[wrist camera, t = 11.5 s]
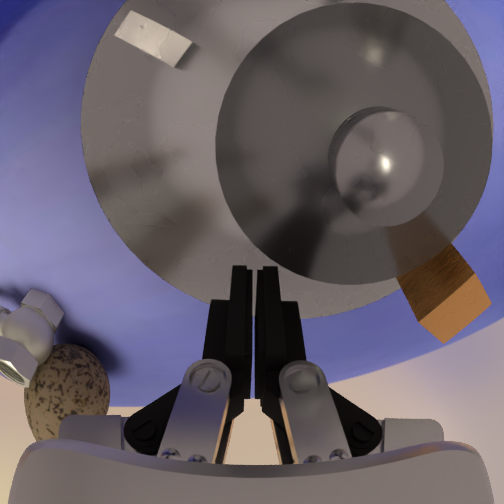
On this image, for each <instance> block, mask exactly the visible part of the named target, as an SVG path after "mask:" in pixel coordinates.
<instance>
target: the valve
mask: <svg viewBox="0 0 504 504" xmlns="http://www.w3.org/2000/svg"><path fill="white" fill-rule="evenodd" d="M63 315H64V311H63V310H62V309H61V308H60V307H59V305H58V304H57V303H56V302H55V301H54V299H53V298H52V297H51V296H50V295H49V294H48V293H44V292H41V291H37V290H34V289H30V290H29V292H28V293H27V295H26V296H25V298H24V299H23V300H22V302H21V307H20V308H18V309H16V310H14V311H13V312H12V313H11V311H10V310H9V309H7V308H5V307H2V306H0V372H1V373H2V374H3V375H4V376H6V377H7V378H8V379H10V380H11V381H13V382H14V383H16V384H18V385H20V386H23V387H27V388H29V387H30V385H31V382H32V380H33V378H34V376H35V373H36V371H37V367H38V366H39V365H41V364H42V363H44V362H45V361H46V360H47V358H48V357H49V355H50V354H51V351H52V348H53V344H54V334H55V332H56V330H57V328H58V327H59V325H60V322H61V320H62V317H63Z"/></svg>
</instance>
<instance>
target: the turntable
mask: <svg viewBox="0 0 504 504" xmlns="http://www.w3.org/2000/svg"><path fill="white" fill-rule="evenodd" d="M338 3H370V4H376V5H382V6H387V7H390V8H393V9H397V10H400V11H403V12H405V13H408V14H410V15H412V16H414V17H416V18H418V19H420V20H422V21H424V22H425V23H427V24H428V25H430V26H431V27H432V28H434V29H435V30H437V31H438V32H439V33H441V34H442V35H443V36H444V37H445V38H446V39H447V40H448V41H449V42H451V43H452V44H453V45H454V47H455V48H456V49H457V50H458V51H459V52H460V54H461V55H462V56H463V57H464V58H465V60H466V61H467V63H468V64H469V66H470V68H471V69H472V71H473V72H474V74H475V76H476V78H477V80H478V82H479V84H480V86H481V89H482V91H483V94H484V97H485V100H486V103H487V106H488V110H489V115H490V121H491V128H492V143H493V112H492V102H491V96H490V91H489V86H488V82H487V78H486V74H485V71H484V68H483V65H482V63H481V60H480V57H479V55H478V52H477V50H476V48H475V46H474V44H473V42H472V40H471V38H470V36H469V34H468V33H467V31H466V29H465V27H464V26H463V24H462V23H461V21H460V20H459V19H458V17H457V16H456V14H455V13H454V12H453V10H452V9H451V8H450V6H449V5H448V4H447V3H446V2H445V0H127V1H126V2H125V3H124V4H123V5H122V7H121V8H120V9H119V11H118V12H117V13H116V14H115V16H114V17H113V19H112V20H111V22H110V24H109V25H108V27H107V29H106V31H105V32H104V34H103V36H102V38H101V40H100V42H99V44H98V46H97V48H96V51H95V53H94V56H93V59H92V62H91V64H90V67H89V70H88V73H87V78H86V83H85V88H84V93H83V98H82V110H81V136H82V145H83V154H84V159H85V163H86V167H87V171H88V175H89V179H90V182H91V185H92V187H93V190H94V192H95V195H96V197H97V199H98V202H99V204H100V206H101V208H102V210H103V212H104V213H105V215H106V217H107V219H108V220H109V222H110V224H111V225H112V227H113V229H114V230H115V231H116V233H117V234H118V235H119V236H120V238H121V239H122V240H123V242H124V243H125V244H126V246H127V247H128V248H129V249H130V250H131V251H132V252H133V253H134V254H135V255H136V256H137V257H138V258H139V259H140V260H141V261H142V262H143V263H144V264H145V265H146V266H147V267H148V268H150V269H151V270H152V271H153V272H155V273H156V274H157V275H158V276H160V277H161V278H162V279H163V280H165V281H166V282H168V283H169V284H171V285H173V286H174V287H176V288H177V289H179V290H181V291H182V292H184V293H186V294H188V295H190V296H192V297H194V298H196V299H198V300H200V301H203V302H205V303H207V304H210V302H211V299H220V300H229V298H230V287H231V276H232V266H233V265H247V269H253V309H252V316H255V304H256V284H257V270H263V266H278V274H279V283H280V293H281V301H297V302H298V306H299V313H300V319H304V318H316V317H322V316H328V315H334V314H338V313H342V312H346V311H349V310H353V309H356V308H359V307H362V306H365V305H367V304H370V303H372V302H375V301H377V300H379V299H381V298H383V297H385V296H387V295H389V294H391V293H393V292H395V291H397V290H398V289H400V288H401V289H402V290H403V292H404V294H405V296H406V298H407V300H408V302H409V304H410V306H411V308H412V310H413V312H414V314H415V316H416V318H417V321H418V322H419V323H420V324H421V325H422V326H423V327H425V328H426V329H427V330H428V331H429V332H431V333H432V334H433V335H434V336H435V337H436V338H438V339H439V340H440V341H441V342H442V343H443V344H444V343H445V342H447V341H448V340H449V339H451V338H452V337H453V336H454V335H456V334H457V333H458V332H459V331H461V330H462V329H463V328H464V327H466V326H467V325H468V324H469V323H470V322H472V321H473V320H474V319H475V318H476V317H477V316H479V315H480V314H481V313H482V312H483V311H484V310H485V309H486V308H488V307H489V306H490V305H491V304H492V303H491V301H490V299H489V297H488V295H487V293H486V292H485V290H484V288H483V286H482V284H481V283H480V281H479V279H478V277H477V276H476V274H475V272H474V271H473V270H472V269H471V267H470V266H469V265H468V263H467V262H466V261H465V260H464V258H463V257H462V256H461V255H460V253H459V252H458V251H457V250H456V248H455V247H454V246H453V245H452V242H453V241H454V240H455V239H456V238H455V239H454V240H453V241H452V242H451V243H450V244H449V245H448V246H447V247H446V248H444V249H443V250H442V251H441V252H440V253H439V254H437V255H436V256H435V257H433V258H432V259H431V260H429V261H428V262H426V263H424V264H423V265H421V266H419V267H418V268H416V269H414V270H412V271H410V272H407V273H405V274H403V275H400V276H397V277H395V278H392V279H389V280H385V281H380V282H376V283H369V284H361V285H339V284H330V283H324V282H320V281H316V280H311V279H309V278H306V277H303V276H300V275H298V274H295V273H293V272H291V271H289V270H287V269H285V268H283V267H282V266H280V265H279V264H277V263H276V262H274V261H273V260H271V259H270V258H268V257H267V256H266V255H265V254H264V253H263V252H261V251H260V250H259V249H258V248H257V247H256V246H255V245H254V244H253V243H252V242H251V241H250V239H249V238H248V237H247V236H246V235H245V234H244V233H243V231H242V230H241V228H240V227H239V225H238V223H237V222H236V220H235V219H234V217H233V216H232V213H231V211H230V209H229V207H228V205H227V203H226V201H225V198H224V195H223V192H222V189H221V185H220V182H219V178H218V171H217V165H216V154H215V136H216V129H217V121H218V115H219V112H220V108H221V105H222V101H223V98H224V94H225V92H226V90H227V88H228V86H229V84H230V81H231V79H232V77H233V75H234V73H235V72H236V70H237V69H238V67H239V66H240V64H241V63H242V61H243V60H244V58H245V57H246V55H247V54H248V53H249V52H250V51H251V50H252V49H253V48H254V46H255V45H256V44H257V43H258V42H259V41H260V40H261V39H262V38H263V37H264V36H266V35H267V34H268V33H270V32H271V31H272V30H273V29H275V28H276V27H277V26H279V25H280V24H282V23H284V22H285V21H287V20H289V19H291V18H293V17H295V16H296V15H298V14H300V13H303V12H306V11H309V10H312V9H315V8H318V7H321V6H326V5H332V4H338ZM458 235H459V234H458ZM458 235H457V236H458ZM457 236H456V237H457Z"/></svg>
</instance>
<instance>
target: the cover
mask: <svg viewBox="0 0 504 504" xmlns="http://www.w3.org/2000/svg"><path fill="white" fill-rule="evenodd" d="M215 154H216V165H217V171H218V178H219V182H220V185H221V189H222V192H223V195H224V198H225V201H226V203H227V205H228V207H229V209H230V211H231V213H232V216H233V217H234V219H235V220H236V222H237V223H238V225H239V227H240V228H241V230H242V231H243V233H244V234H245V235H246V236H247V237H248V238H249V239H250V241H251V242H252V243H253V244H254V245H255V246H256V247H257V248H258V249H259V250H260V251H261V252H263V253H264V254H265V255H266V256H267V257H268V258H270V259H271V260H273V261H274V262H276V263H277V264H279V265H280V266H282V267H283V268H285V269H287V270H289V271H291V272H293V273H295V274H298V275H300V276H303V277H306V278H309V279H311V280H316V281H320V282H324V283H330V284H339V285H361V284H369V283H376V282H380V281H385V280H389V279H392V278H395V277H397V276H400V275H403V274H405V273H407V272H410V271H412V270H414V269H416V268H418V267H419V266H421V265H423V264H424V263H426V262H428V261H429V260H431V259H432V258H433V257H435V256H436V255H437V254H439V253H440V252H441V251H442V250H443V249H444V248H446V247H447V246H448V245H449V244H450V243H451V242H452V241H453V240H454V239H455V238H456V236H457V235H458V234H459V233H460V232H461V231H462V229H463V228H464V227H465V225H466V224H467V222H468V221H469V219H470V218H471V216H472V214H473V213H474V211H475V209H476V207H477V205H478V203H479V201H480V199H481V196H482V194H483V191H484V189H485V186H486V182H487V179H488V175H489V170H490V164H491V158H492V128H491V121H490V115H489V110H488V106H487V103H486V100H485V97H484V94H483V91H482V89H481V86H480V84H479V82H478V80H477V78H476V76H475V74H474V72H473V71H472V69H471V68H470V66H469V64H468V63H467V61H466V60H465V58H464V57H463V56H462V55H461V54H460V52H459V51H458V50H457V49H456V48H455V47H454V45H453V44H452V43H451V42H449V41H448V40H447V39H446V38H445V37H444V36H443V35H442V34H441V33H439V32H438V31H437V30H435V29H434V28H432V27H431V26H430V25H428V24H427V23H425V22H424V21H422V20H420V19H418V18H416V17H414V16H412V15H410V14H408V13H405V12H403V11H400V10H397V9H393V8H390V7H387V6H382V5H376V4H370V3H338V4H332V5H326V6H321V7H318V8H315V9H312V10H309V11H306V12H303V13H300V14H298V15H296V16H295V17H293V18H291V19H289V20H287V21H285V22H284V23H282V24H280V25H279V26H277V27H276V28H275V29H273V30H272V31H271V32H270V33H268V34H267V35H266V36H264V37H263V38H262V39H261V40H260V41H259V42H258V43H257V44H256V45H255V46H254V48H253V49H252V50H251V51H250V52H249V53H248V54H247V55H246V57H245V58H244V60H243V61H242V63H241V64H240V66H239V67H238V69H237V70H236V72H235V73H234V75H233V77H232V79H231V81H230V84H229V86H228V88H227V90H226V92H225V94H224V98H223V101H222V105H221V108H220V112H219V115H218V121H217V129H216V136H215Z"/></svg>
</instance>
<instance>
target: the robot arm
mask: <svg viewBox="0 0 504 504" xmlns="http://www.w3.org/2000/svg"><path fill="white" fill-rule="evenodd" d="M252 309H253V269H247V265H233V266H232V276H231V287H230V298H229V300H220V299H211V302H210V309H209V315H208V322H207V329H206V336H205V343H204V350H203V357H202V360H199V361H197V362H195V363H193V364H192V365H191V366H190V367H188V369H187V371H186V373H185V375H184V378H183V381H182V383H181V384H180V385H178V386H177V387H175V388H174V389H172V390H171V391H169V392H168V393H166V394H165V395H163V396H161V397H160V398H158V399H157V400H155V401H154V402H152V403H150V404H149V405H147V406H146V407H144V408H143V409H141V410H139V411H138V412H136V413H134V414H133V415H132V416H130V417H121V415H69V416H67V417H65V418H64V419H63V420H62V421H61V423H60V426H59V432H58V439H46V440H41V441H37V442H35V443H32V444H31V445H29V446H28V447H27V448H26V450H25V451H24V453H23V454H22V456H21V458H20V461H19V463H18V465H17V468H16V471H15V475H14V478H13V481H12V486H11V490H10V495H9V501H8V504H494V499H493V494H492V490H491V485H490V480H489V477H488V473H487V470H486V467H485V465H484V462H483V460H482V458H481V456H480V454H479V453H478V452H477V450H476V449H475V448H473V447H472V446H470V445H468V444H464V443H461V442H454V441H444V433H443V429H442V427H441V425H440V424H439V423H438V422H437V421H435V420H432V419H394V418H385V419H384V420H376V419H375V418H374V417H373V416H371V415H370V414H368V413H367V412H365V411H364V410H362V409H361V408H359V407H358V406H356V405H355V404H353V403H351V402H350V401H349V400H347V399H346V398H344V397H343V396H341V395H340V394H338V393H337V392H335V391H334V390H332V389H331V388H330V387H329V386H328V383H327V381H326V378H325V375H324V373H323V371H322V370H321V369H320V368H319V367H318V366H317V365H316V364H314V363H312V362H309V361H306V354H305V347H304V340H303V333H302V326H301V319H300V313H299V306H298V302H297V301H281V293H280V283H279V274H278V266H263V270H257V284H256V304H255V399H260V403H261V405H260V406H261V407H262V412H263V413H265V414H266V415H267V416H268V417H269V418H271V425H272V430H273V435H274V440H275V444H276V449H277V454H278V459H279V463H280V465H229V464H228V465H227V464H224V463H225V459H226V454H227V450H228V446H229V441H230V437H231V432H232V427H233V423H234V418H235V417H237V416H238V415H239V414H241V413H242V412H243V411H244V399H250V390H251V370H252Z"/></svg>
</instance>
